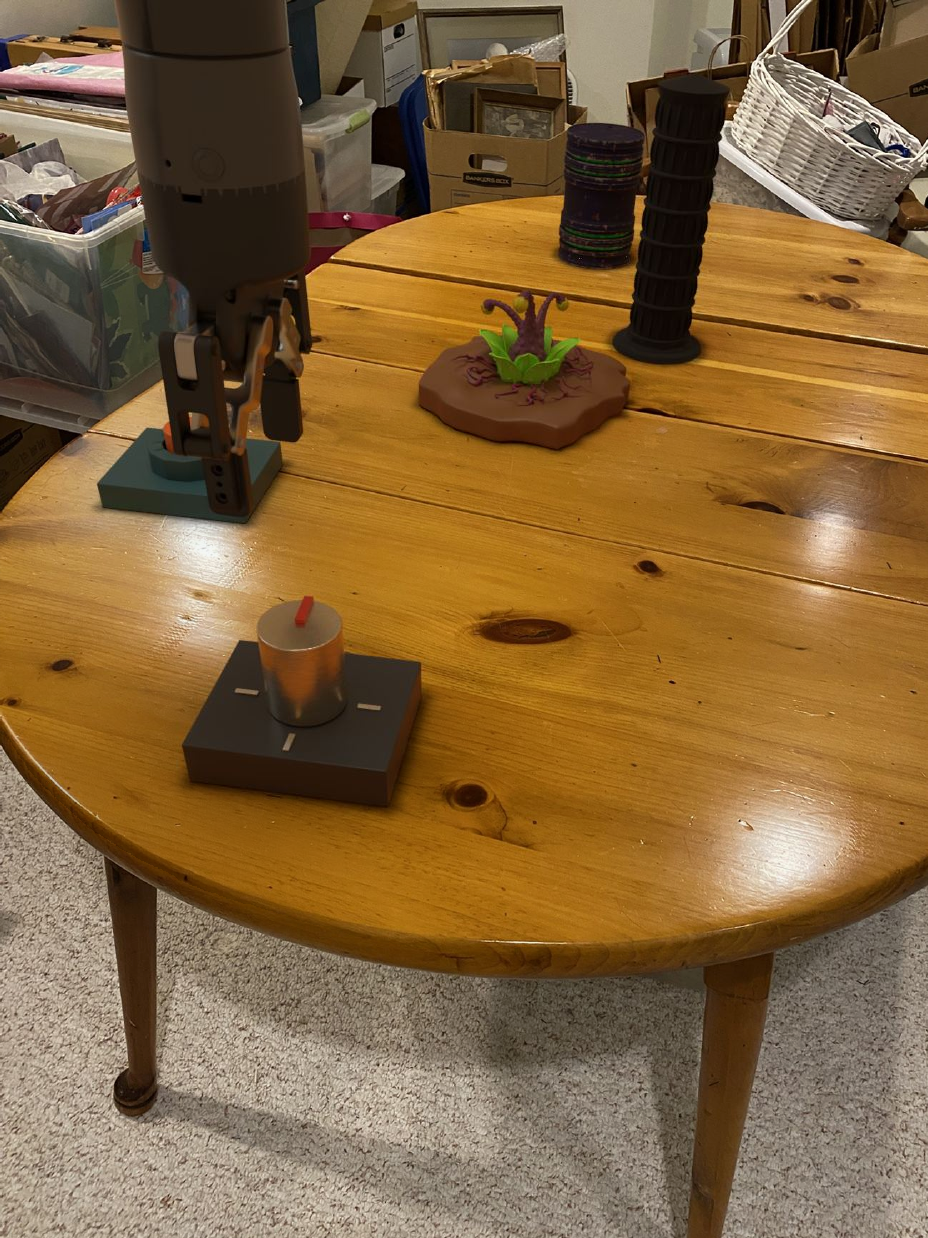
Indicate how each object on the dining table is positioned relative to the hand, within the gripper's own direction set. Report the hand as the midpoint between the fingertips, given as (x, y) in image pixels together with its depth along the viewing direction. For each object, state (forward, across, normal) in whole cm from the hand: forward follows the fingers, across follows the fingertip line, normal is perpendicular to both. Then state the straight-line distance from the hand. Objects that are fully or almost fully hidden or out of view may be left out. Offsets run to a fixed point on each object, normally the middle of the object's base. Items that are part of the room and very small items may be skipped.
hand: (259, 473), depth 57 cm
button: (+12, -23, -16) cm, 30 cm away
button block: (+16, -23, -16) cm, 32 cm away
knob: (+13, +4, +3) cm, 14 cm away
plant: (+16, -47, +9) cm, 50 cm away
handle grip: (+16, -64, +22) cm, 69 cm away
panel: (+16, +4, +3) cm, 17 cm away
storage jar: (+16, -92, +12) cm, 94 cm away
